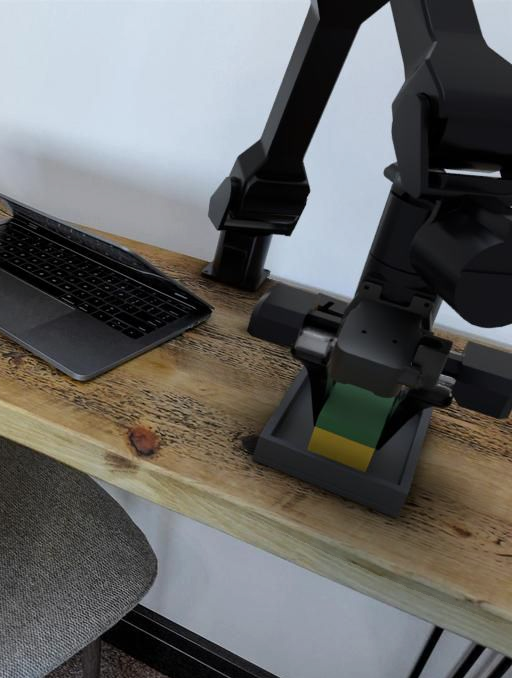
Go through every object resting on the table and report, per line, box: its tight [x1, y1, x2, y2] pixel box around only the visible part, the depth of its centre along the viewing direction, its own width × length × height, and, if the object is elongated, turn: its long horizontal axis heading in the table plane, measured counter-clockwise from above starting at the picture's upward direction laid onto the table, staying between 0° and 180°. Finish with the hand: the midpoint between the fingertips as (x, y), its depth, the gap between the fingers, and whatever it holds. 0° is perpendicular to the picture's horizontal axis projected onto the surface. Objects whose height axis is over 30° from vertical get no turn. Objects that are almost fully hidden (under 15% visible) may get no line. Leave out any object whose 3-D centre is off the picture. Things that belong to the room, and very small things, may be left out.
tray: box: [251, 365, 435, 519], centre depth 68 cm, size 16×11×2 cm
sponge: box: [307, 382, 395, 472], centre depth 66 cm, size 7×4×4 cm, turn 147°
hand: (346, 436), depth 66 cm, fingers closed on sponge, 4 cm apart
